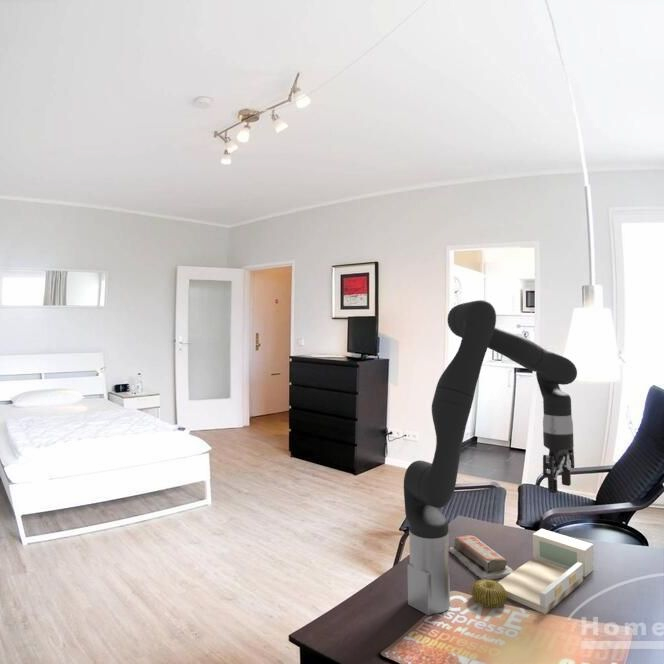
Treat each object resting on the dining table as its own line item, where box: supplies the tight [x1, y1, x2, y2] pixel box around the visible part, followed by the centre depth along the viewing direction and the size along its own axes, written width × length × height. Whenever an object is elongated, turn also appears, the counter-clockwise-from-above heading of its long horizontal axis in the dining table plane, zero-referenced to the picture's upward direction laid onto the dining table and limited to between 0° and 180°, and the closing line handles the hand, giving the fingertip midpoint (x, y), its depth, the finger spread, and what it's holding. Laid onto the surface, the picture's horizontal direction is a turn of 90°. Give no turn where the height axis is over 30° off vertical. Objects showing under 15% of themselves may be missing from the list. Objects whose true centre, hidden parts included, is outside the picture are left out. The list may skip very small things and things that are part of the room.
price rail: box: [540, 562, 584, 608], centre depth 113 cm, size 21×1×3 cm, turn 131°
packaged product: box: [449, 534, 514, 580], centre depth 131 cm, size 18×5×10 cm
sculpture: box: [471, 579, 508, 609], centre depth 112 cm, size 8×4×8 cm
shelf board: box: [497, 557, 584, 615], centre depth 118 cm, size 21×13×2 cm, turn 131°
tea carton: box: [532, 528, 595, 578], centre depth 129 cm, size 6×14×7 cm, turn 41°
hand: (559, 488), depth 130 cm, fingers open, 8 cm apart
